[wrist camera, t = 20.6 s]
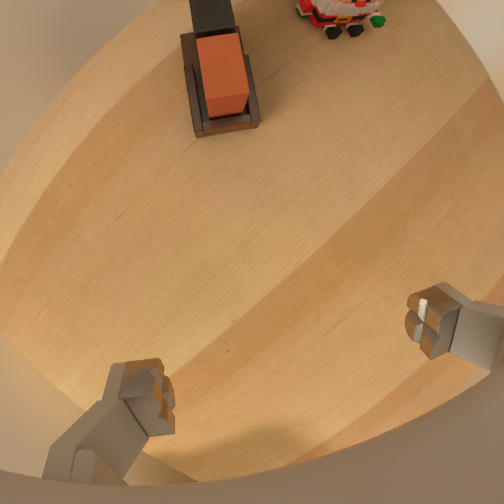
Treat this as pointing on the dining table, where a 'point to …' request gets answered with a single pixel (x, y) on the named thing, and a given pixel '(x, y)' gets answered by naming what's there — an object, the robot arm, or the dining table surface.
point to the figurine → (341, 14)
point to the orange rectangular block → (223, 75)
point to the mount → (204, 25)
